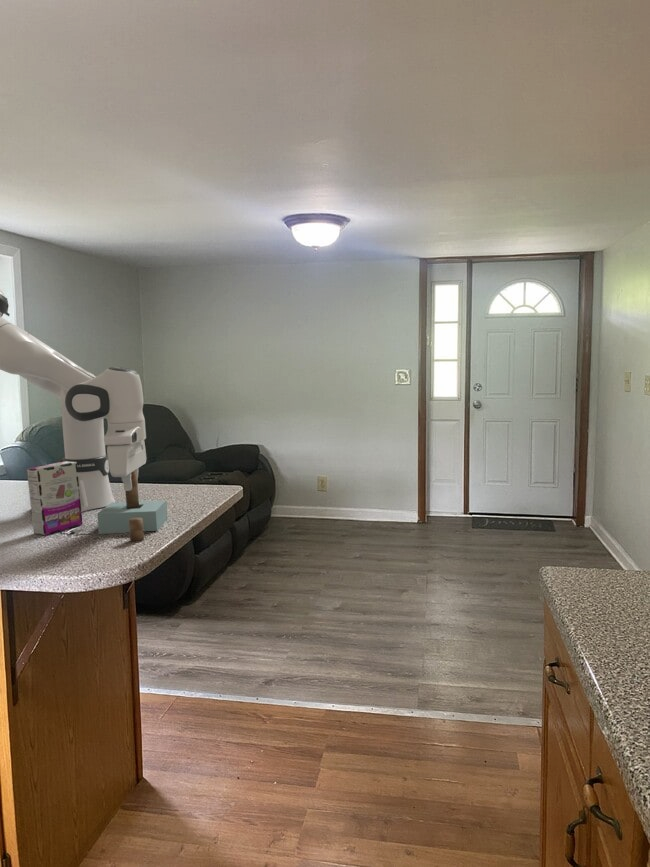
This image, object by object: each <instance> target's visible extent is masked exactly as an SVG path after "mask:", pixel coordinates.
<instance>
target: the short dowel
mask: <svg viewBox="0 0 650 867" xmlns="http://www.w3.org/2000/svg"><path fill="white" fill-rule="evenodd" d="M129 526H130V533H129V538H130V539H129V540H130V542H131V541H132V542H131V543H137V542H136V541H140V542H143V541H144V540H145V536H144V535H145V534H144V533H145V532H143V518H140V517H137V518H131V519H129ZM142 540H143V541H142Z"/></svg>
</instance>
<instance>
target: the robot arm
mask: <svg viewBox="0 0 650 867" xmlns="http://www.w3.org/2000/svg"><path fill="white" fill-rule="evenodd" d="M9 306H10V305H9V300H8V297H6V296H5V294H4V293H3V292H2V290H1V289H0V370H1V371H3V372H5V373H8V374H10V375H18V376H20V377H22V378H23V379H25V380H27V381H28V382H30V383H31V384H34V385H35V386H37V387H38V388H40V389H42V390H44V391H45V392H47V393H48V394H51V395H52V396H53V397H55V398H57V399H59V400H60V411H61V423H62V436H63V446H64V448H63V449H64V457H63V458H62V459H61V460H58V462H57V463H60V462H65V461H68V462H69V461H70V462H77V472H78V481H79V493H80V502H81V512H85V511H90V510H94V509H100V508H105V507H107V506H108V505H109V504H111V503H112V502H116V500H115V498H114V494H113V492H112V487H111V482H110V480H109V479H110V478H109V474H110V475H111V477H113V478H121V481H122V483H123V490H124V491H130V490H132V489H133V482H132V481H131V473H132V472H133V471H135V470H137V484H139V482H138V478H139V468H141V467H142V466H143V465H146V463H147V452H146V445H145V444H146V443H145V440H146V439H147V430H146V419H145V415H144V412H143V408H144V402H145V401H144V393H143V386H142V381H141V377H140V374H139V373H138V372H137V371H136V370H134V369H131V368H126V367H117V366H111V367H107V368H106V369H105V370H104V371H103V372H101V373H99V375H97V376H95V375H94V373H91V372H90V371H88V370H85V368H82V367H81V366H80V365H77V364H76V363H75V362H73V361H72V360H71V359H69V358H68V357H66V356H64V355H63V354H61V353H60V352H58V351H57V350H55V349H54V348H52V347H51V346H49V345H48V344H47V343H45V342H43V341H41V340H40V339H38V338H37V337H36V336H34V335H32V333H29V332H27V330H24V329H22V328H21V327H19V326H17V325H15V324H14V323H12V322H10V321H8V320H7V319H5V318H3V315H6V316H7V317H10V314H11V313H9V312H8V311H9ZM104 420H106V422H107V429H106V430H107V431H106V433H105V427H104ZM106 446H107V447H106ZM106 450H107V451H106ZM106 452H107V453H106Z"/></svg>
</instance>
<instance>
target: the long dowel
mask: <svg viewBox="0 0 650 867" xmlns="http://www.w3.org/2000/svg"><path fill="white" fill-rule="evenodd" d="M131 481H132V482H133V489H132V490H130V491H125V490H124V491H125V502H126V506H127V509H137V508H139V501H140V500H139V485H138V484H139V483H138V484H137V481H138V479H137V470H135V471H133V472H132V473H131Z"/></svg>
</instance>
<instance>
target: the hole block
mask: <svg viewBox="0 0 650 867" xmlns="http://www.w3.org/2000/svg"><path fill="white" fill-rule="evenodd" d="M167 503H168V502H167V500H163V499H162V500H142V501H140V500H139V508H137V509H127V506H126V501H117V502H116V501H115V502H112V503H111V504H109V505H108V506H105V507H103V508H102V509H101V510H100V511H99V512H98V513H97V514H96V515H97V524H98V525H97V527H98V528H97V529H98V535H99V534H100V535H102V534H103V535H104V534H125V533H126V532H130V526H129V519H131V518H137V517H140V518H143V531H156V532H158V531H159V530H160V529H161V528H160V527H163V525H164V524H165V523H166V522H167V521H168V519H169V518H168V504H167ZM165 521H166V522H165ZM164 522H165V523H164Z"/></svg>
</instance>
